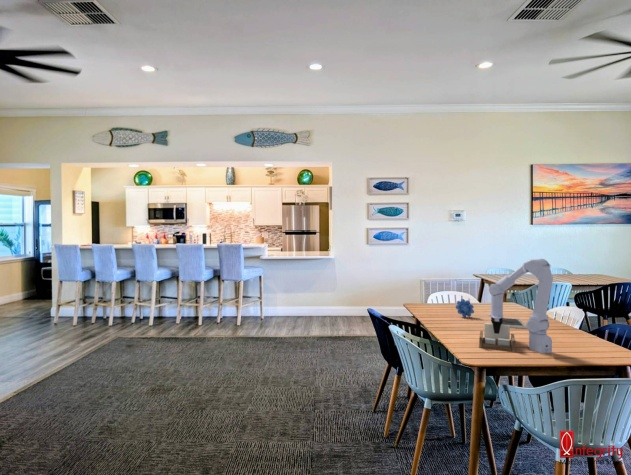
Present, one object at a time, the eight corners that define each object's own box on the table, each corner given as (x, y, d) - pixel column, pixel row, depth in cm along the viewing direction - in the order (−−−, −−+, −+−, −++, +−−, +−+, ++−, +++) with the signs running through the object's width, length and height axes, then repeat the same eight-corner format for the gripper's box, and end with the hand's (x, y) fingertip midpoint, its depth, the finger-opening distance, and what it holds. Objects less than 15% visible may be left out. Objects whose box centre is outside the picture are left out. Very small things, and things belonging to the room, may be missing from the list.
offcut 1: (495, 348, 192) (495, 340, 192) (485, 347, 194) (485, 339, 194) (495, 347, 195) (495, 338, 195) (485, 345, 197) (485, 337, 196)
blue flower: (456, 318, 261) (456, 299, 261) (454, 315, 268) (455, 298, 267) (475, 318, 259) (475, 300, 258) (473, 316, 265) (473, 298, 265)
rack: (515, 353, 187) (515, 341, 187) (478, 349, 194) (478, 337, 194) (513, 340, 209) (513, 329, 209) (480, 336, 216) (480, 326, 216)
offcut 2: (509, 350, 190) (509, 340, 190) (498, 348, 192) (498, 339, 192) (509, 348, 192) (509, 339, 192) (497, 347, 194) (498, 338, 194)
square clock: (492, 320, 257) (498, 328, 237) (492, 316, 257) (498, 323, 237) (519, 322, 253) (527, 330, 233) (519, 317, 253) (527, 325, 233)
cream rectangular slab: (509, 341, 206) (509, 325, 206) (484, 338, 211) (484, 323, 211) (509, 340, 208) (509, 325, 207) (484, 337, 212) (484, 322, 212)
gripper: (488, 303, 217) (488, 328, 217) (488, 308, 204) (488, 334, 204) (502, 304, 214) (502, 329, 215) (503, 309, 201) (503, 336, 201)
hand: (496, 332), depth 209 cm, fingers open, 4 cm apart
